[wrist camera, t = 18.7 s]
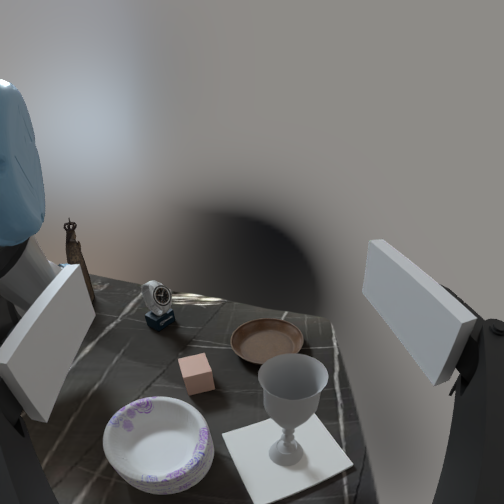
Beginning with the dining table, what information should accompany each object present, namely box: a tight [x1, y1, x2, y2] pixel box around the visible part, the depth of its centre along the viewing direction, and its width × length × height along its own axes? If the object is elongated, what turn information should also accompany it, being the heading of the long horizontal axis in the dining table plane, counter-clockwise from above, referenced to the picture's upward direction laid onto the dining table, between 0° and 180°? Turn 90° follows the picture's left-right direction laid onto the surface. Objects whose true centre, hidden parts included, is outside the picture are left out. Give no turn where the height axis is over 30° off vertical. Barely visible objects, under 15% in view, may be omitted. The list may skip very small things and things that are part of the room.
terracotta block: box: [178, 353, 215, 396], centre depth 50 cm, size 5×5×5 cm
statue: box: [64, 219, 94, 303], centre depth 73 cm, size 9×8×25 cm
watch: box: [142, 281, 175, 331], centre depth 66 cm, size 6×8×11 cm
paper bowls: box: [103, 397, 214, 495], centre depth 34 cm, size 15×15×8 cm
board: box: [222, 413, 353, 504], centre depth 36 cm, size 15×14×1 cm
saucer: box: [231, 318, 303, 365], centre depth 59 cm, size 15×15×3 cm
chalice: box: [258, 353, 328, 466], centre depth 32 cm, size 7×7×18 cm
